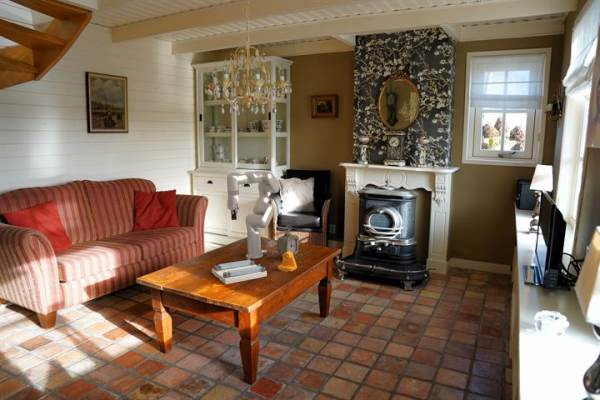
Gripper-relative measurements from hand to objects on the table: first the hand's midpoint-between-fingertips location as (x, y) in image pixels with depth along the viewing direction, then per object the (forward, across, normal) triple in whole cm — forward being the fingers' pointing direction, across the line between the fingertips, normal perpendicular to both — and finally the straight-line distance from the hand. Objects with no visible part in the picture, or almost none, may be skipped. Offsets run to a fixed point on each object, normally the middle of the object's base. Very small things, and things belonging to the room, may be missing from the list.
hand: (234, 219), depth 309 cm
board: (+32, +20, -6) cm, 38 cm away
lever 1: (+29, +12, -5) cm, 31 cm away
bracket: (+32, +28, +25) cm, 50 cm away
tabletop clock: (+32, +8, +37) cm, 50 cm away
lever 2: (+29, +28, -5) cm, 40 cm away
